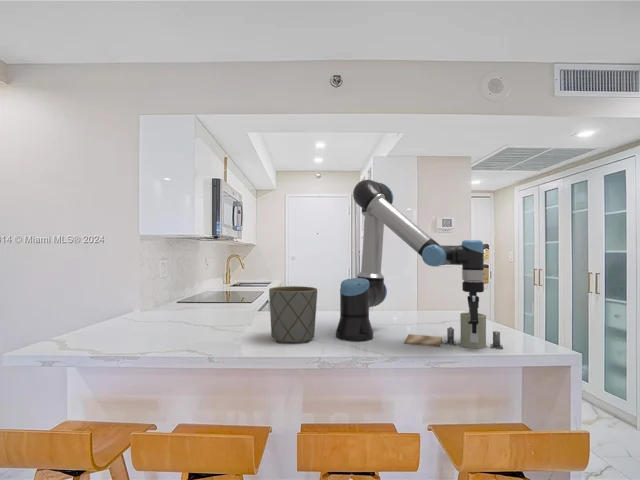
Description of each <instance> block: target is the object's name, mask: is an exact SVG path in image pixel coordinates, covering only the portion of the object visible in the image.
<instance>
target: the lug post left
mask: <svg viewBox="0 0 640 480" xmlns="http://www.w3.org/2000/svg"><path fill="white" fill-rule="evenodd" d="M446 329H447V330H446V331H447V332H446V338H447V339H446V340H444V345H448V344H449V345H450V346H457V340H455V328H453V327H452V326H449V327H447V328H446Z"/></svg>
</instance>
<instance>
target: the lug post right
mask: <svg viewBox="0 0 640 480" xmlns="http://www.w3.org/2000/svg"><path fill="white" fill-rule="evenodd" d="M489 346H490V349H494V348H496V349H495V350H497V349H498V350H504V346H503V345H502V344H501V332H500V331H496V330H495V331H492V343H490V344H489Z"/></svg>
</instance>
